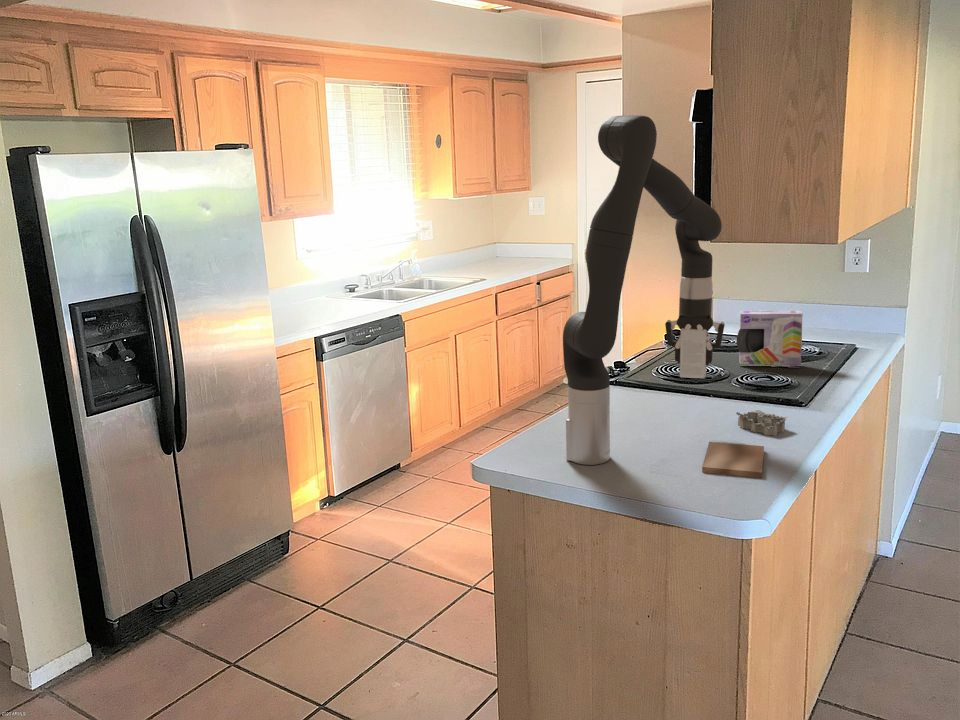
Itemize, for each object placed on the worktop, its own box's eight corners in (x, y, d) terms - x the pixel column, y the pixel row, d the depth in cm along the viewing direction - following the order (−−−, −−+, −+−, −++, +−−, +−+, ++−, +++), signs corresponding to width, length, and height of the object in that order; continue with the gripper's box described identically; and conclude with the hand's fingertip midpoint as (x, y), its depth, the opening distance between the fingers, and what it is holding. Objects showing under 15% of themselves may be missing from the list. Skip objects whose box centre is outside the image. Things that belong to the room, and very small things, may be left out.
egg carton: (733, 427, 198) (733, 411, 197) (752, 421, 202) (752, 405, 201) (770, 438, 189) (771, 421, 188) (789, 431, 193) (790, 414, 192)
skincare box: (706, 374, 195) (708, 326, 192) (704, 379, 191) (706, 330, 188) (680, 373, 197) (682, 325, 194) (678, 377, 193) (680, 329, 190)
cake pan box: (735, 367, 251) (737, 312, 247) (735, 363, 256) (737, 309, 251) (801, 369, 245) (804, 312, 241) (799, 365, 250) (802, 309, 246)
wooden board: (702, 472, 170) (702, 466, 170) (708, 446, 185) (709, 441, 185) (761, 477, 166) (761, 472, 166) (763, 451, 181) (764, 446, 180)
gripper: (662, 297, 188) (661, 365, 192) (726, 298, 183) (723, 369, 188) (667, 292, 195) (665, 358, 199) (728, 293, 190) (725, 361, 194)
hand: (693, 363), depth 193 cm, fingers closed on skincare box, 6 cm apart
